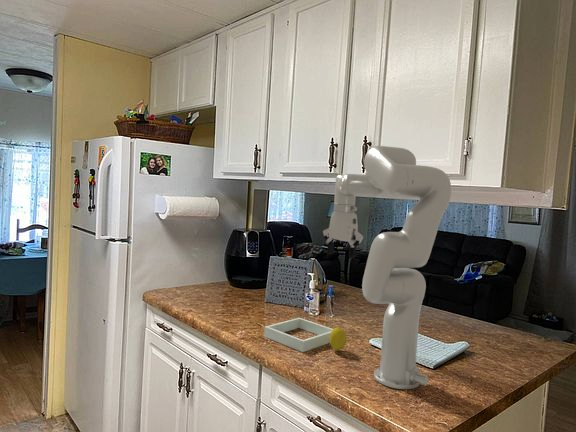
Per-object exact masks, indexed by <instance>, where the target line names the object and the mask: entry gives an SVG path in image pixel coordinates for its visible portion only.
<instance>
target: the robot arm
mask: <svg viewBox="0 0 576 432" xmlns="http://www.w3.org/2000/svg"><path fill="white" fill-rule="evenodd" d="M363 167H364V170H365V172H366V174H360V173H346V174H338V175H337V176H336V177H335V184H334V185H335V187H334V202H333V211H332V213H331V216H330V219H329V220H330V221H329V226H328V228H325V229H324V230H322V233H323V239H325V243H326V244H327V245H326V246H327V247H326V248H327V249H326V254H327V255H333V254H334V253H335V251H334V250H335V243H334V242H335V241H341V242H347V243H348V244H349V246H350V247H349V249H348V259H349V260H351V259H355V258H356V256H357V255H356V254H357V248H358V247H359V245H360V244H361V243H362V241H363V239H364V235H363V234H361V233H360V232H359V231H358V230H359V229H358V228H359V225H358V216H357V215H358V214H357V213H356V212H357V211H358V207H356V197H366V198H367V197H368V198H373V197H374V198H375V197H378V196H381V195H383V194H387V195H388V196H391V197H403V198H418V199H419V201H417V202H416V203H415V204H414V205H413V206H412V207H411V209H410V210H409V211H408V213H407V214H406V217H405V220H404V223H403V227H402V229H401V230H400V231H386V232H385V231H383V232H381V233H379V234H378V235H376V236H375V237H374V239H373V241H372V243H371V246H370V249H369V253H368V257H367V260H366V265H365V269H364V274H363V277H362V284H361V287H362V288H361V291H362V295H363V297H364V298H365V300H366V301H368V302H369V303H371V304H375V305H376V304H378V305H379V304H380V305H381V304H383V305H385V304H388V306H387V308H386V310H385V312H384V316H383V323H382V324H383V325H382V335H381V336H382V338H381V350H380V362H379V363H380V365H379V367H377V368H376V369H375V370H374V371H373V378H374V379H375V381H377V382H378V383H380V384H381V385H383V386H386V387H389V388H392V389H398V390H412V389H416V388H418V387H419V386H420V385H421V386H424V387H427V385H428V383H429V380H428V375H426V374H424V373H420V369H419V368H420V367H419V366H417V363H416V362H417V353H418V352H417V350H418V339H419V337H418V336H419V326H420V317H421V309H422V304H423V300H424V298H425V293H426V289H427V285H426V283H427V282H426V279H425V277H424V275H423V274H422V273H421V272H420V271H418V270H417V268H422V267H424V266H426V265H427V263H428V260H429V259H430V256H431V253H432V249H433V246H434V244H435V241H436V236H437V233H438V231H439V230H438V229H439V226H440V223H441V221H442V218H443V216H444V214H445V213H446V211H447V208H448V206H449V204H450V200H451V197H452V185H451V180H450V177H449V176H448V175H447V173H446V172H445V171H443V170H441V169H440V168H437V167H433V166H429V165H420V164H419V165H417V160H416V156H415V154H414V153H412V151H410V150H408V149H406V148H403V147H395V146H385V145H375V146H373V147H371V148H370V149H369V150H368V151H367V152H366V154H365V156H364V160H363Z"/></svg>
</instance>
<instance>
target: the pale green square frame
mask: <svg viewBox="0 0 576 432" xmlns="http://www.w3.org/2000/svg"><path fill="white" fill-rule="evenodd" d="M263 329H264V330H263V337H265V338H266V339H269V340H271V341H274V342H276V343H279V344H281V345H284V346H286V347H289V348H291V349H293V350H296V351H298V352H301V353H305V352H307V351H309V350H314V349H316V348H319V347H322V346H324V345H327V344H330V341H329V337H330V333H331V331H332V330H333V329H334V328H332V327H328V326H325V325H323V324H320V323H316V322H313V321H311V320H307V319H305V318H301V317H296V318H292V319H289V320H286V321H281V322H277V323H274V324H269V325H266V326H264V328H263ZM298 329H301V330H304V331H307V332H309V333H312V334H315V336H312V337H308V338H306V339H302V338H298V337H296V336H294V335H291V334H288V333H286V332H290V331H294V330H298Z"/></svg>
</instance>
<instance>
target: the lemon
mask: <svg viewBox="0 0 576 432" xmlns="http://www.w3.org/2000/svg"><path fill="white" fill-rule="evenodd" d="M332 329H333V330H332V331H331V333H330V337H329V341H330V343H329V344H330V346H331V348H332V349H334V350H335V351H336V352H339V351H340V350H342V349H344V348H345V346H346V344H347V334H346V331H345V330H344V329H343V328H342V327H340V326H337V327H335V328H332Z"/></svg>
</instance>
